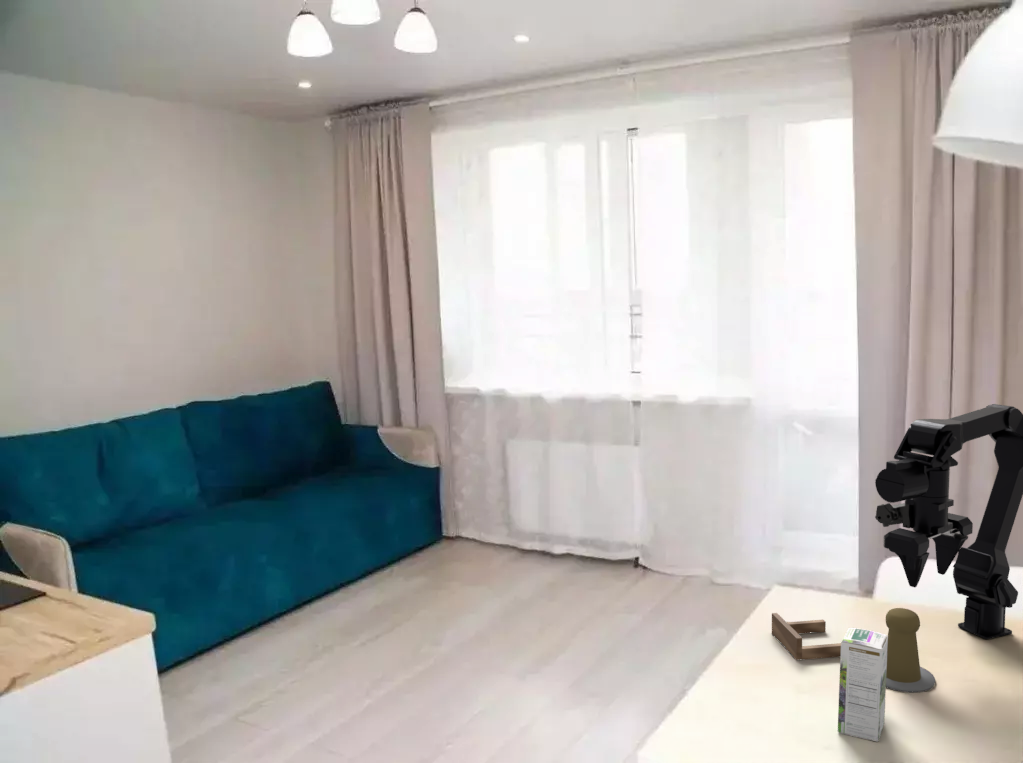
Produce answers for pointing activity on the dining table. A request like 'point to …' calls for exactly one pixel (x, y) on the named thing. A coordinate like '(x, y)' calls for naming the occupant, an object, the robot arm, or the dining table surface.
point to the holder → (793, 640)
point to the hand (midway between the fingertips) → (927, 580)
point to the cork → (902, 646)
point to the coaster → (919, 686)
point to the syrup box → (862, 683)
